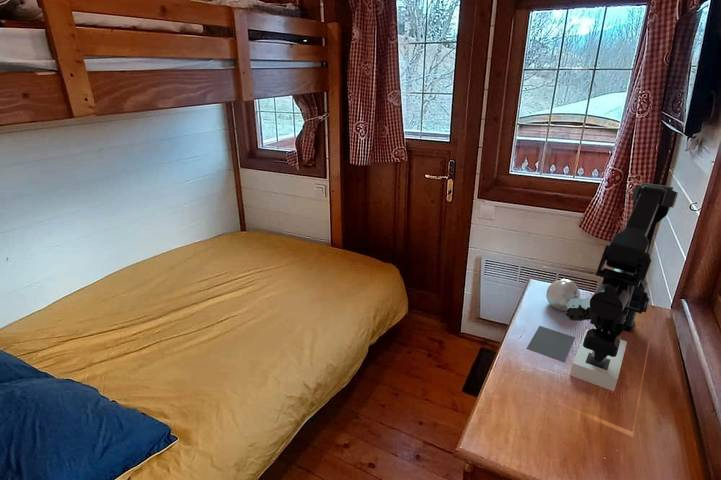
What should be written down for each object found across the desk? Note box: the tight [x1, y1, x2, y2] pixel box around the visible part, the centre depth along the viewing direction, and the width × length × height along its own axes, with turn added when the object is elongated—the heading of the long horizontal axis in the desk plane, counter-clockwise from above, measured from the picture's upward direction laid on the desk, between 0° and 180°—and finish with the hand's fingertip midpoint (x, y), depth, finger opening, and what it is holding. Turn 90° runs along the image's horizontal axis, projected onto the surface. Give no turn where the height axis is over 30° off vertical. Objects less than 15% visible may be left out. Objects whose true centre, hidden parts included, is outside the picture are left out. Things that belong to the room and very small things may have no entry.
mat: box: [525, 325, 576, 363], centre depth 111 cm, size 12×9×1 cm
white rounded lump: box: [545, 278, 581, 312], centre depth 124 cm, size 9×10×10 cm
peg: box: [589, 328, 611, 369], centre depth 98 cm, size 3×3×10 cm
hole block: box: [569, 329, 628, 392], centre depth 103 cm, size 16×9×4 cm, turn 144°
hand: (598, 357), depth 98 cm, fingers closed on peg, 3 cm apart
